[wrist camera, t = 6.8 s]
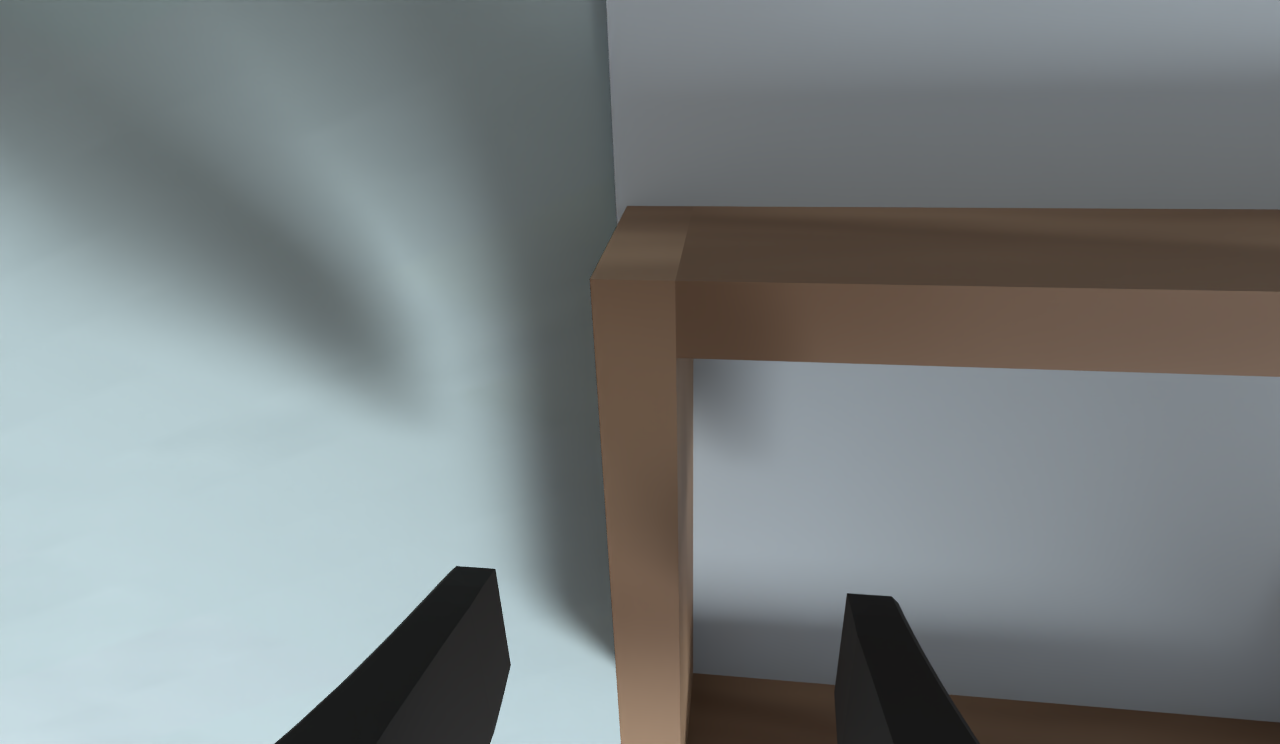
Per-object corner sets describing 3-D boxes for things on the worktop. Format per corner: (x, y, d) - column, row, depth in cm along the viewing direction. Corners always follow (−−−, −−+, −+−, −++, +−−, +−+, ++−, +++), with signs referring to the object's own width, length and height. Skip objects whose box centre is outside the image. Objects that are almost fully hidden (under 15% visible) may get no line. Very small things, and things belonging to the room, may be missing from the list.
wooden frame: (1360, 764, 15) (1489, 936, 12) (647, 700, 17) (627, 838, 14) (1717, 211, 10) (2068, 306, 7) (627, 206, 12) (590, 279, 9)
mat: (1328, 858, 17) (1337, 872, 17) (645, 786, 19) (644, 798, 18) (1983, -118, 8) (2024, -120, 8) (606, -61, 10) (603, -62, 10)
